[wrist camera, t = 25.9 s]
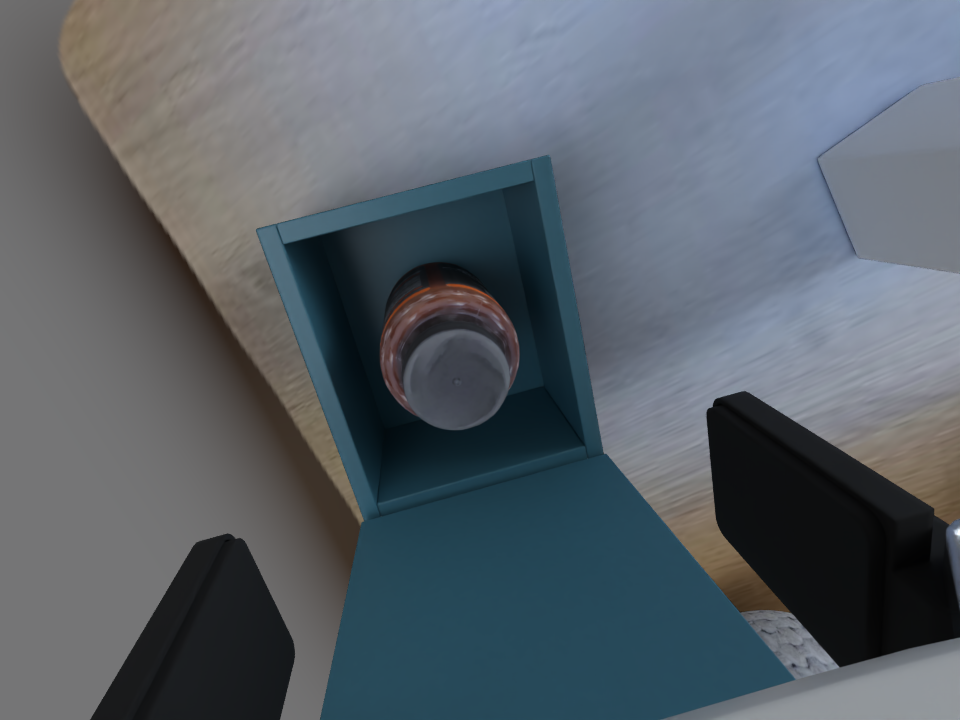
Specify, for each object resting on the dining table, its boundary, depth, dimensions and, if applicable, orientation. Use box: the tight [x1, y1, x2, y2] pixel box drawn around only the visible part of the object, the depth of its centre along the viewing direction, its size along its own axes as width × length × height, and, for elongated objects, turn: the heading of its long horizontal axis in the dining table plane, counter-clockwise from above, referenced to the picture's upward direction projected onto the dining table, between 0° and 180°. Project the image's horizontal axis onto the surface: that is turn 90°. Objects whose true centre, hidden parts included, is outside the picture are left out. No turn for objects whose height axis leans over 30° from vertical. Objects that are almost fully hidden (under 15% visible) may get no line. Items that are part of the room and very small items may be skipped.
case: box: [256, 155, 604, 521], centre depth 26 cm, size 14×12×9 cm
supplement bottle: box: [380, 262, 520, 430], centre depth 24 cm, size 6×6×11 cm
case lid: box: [320, 454, 796, 720], centre depth 17 cm, size 14×12×5 cm
